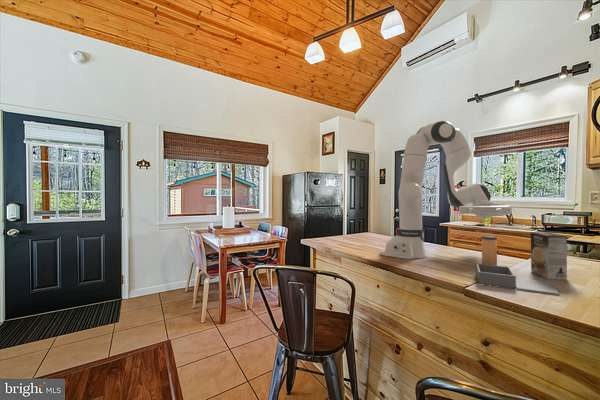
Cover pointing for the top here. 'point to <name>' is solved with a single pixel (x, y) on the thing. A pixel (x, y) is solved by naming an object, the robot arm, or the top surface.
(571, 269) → the top surface
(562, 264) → the coffee box
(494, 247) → the lidded coffee cup
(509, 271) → the mailer box
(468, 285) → the top surface
